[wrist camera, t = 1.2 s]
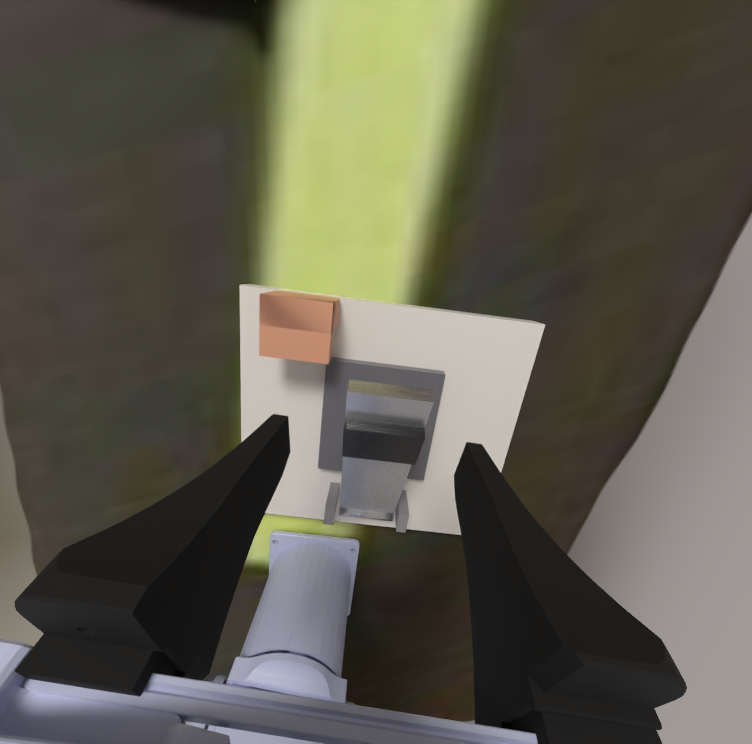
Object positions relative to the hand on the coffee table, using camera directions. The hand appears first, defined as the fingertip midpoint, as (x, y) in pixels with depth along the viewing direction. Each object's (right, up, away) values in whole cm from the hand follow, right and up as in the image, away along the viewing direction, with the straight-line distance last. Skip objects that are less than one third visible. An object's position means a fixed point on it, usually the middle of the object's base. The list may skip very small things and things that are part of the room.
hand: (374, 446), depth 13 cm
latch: (-4, +6, +8) cm, 11 cm away
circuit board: (0, -1, +12) cm, 12 cm away
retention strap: (0, -2, +7) cm, 7 cm away
